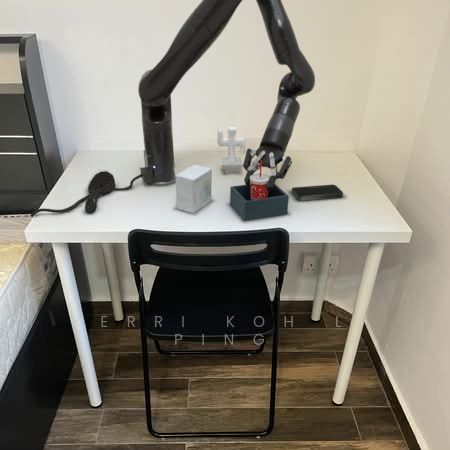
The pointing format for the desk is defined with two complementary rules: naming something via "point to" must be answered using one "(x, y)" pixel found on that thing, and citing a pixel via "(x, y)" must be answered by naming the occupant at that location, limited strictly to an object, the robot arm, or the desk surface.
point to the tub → (258, 203)
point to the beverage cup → (259, 185)
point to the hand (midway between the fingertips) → (257, 187)
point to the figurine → (231, 151)
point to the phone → (317, 192)
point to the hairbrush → (95, 184)
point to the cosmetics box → (193, 188)
